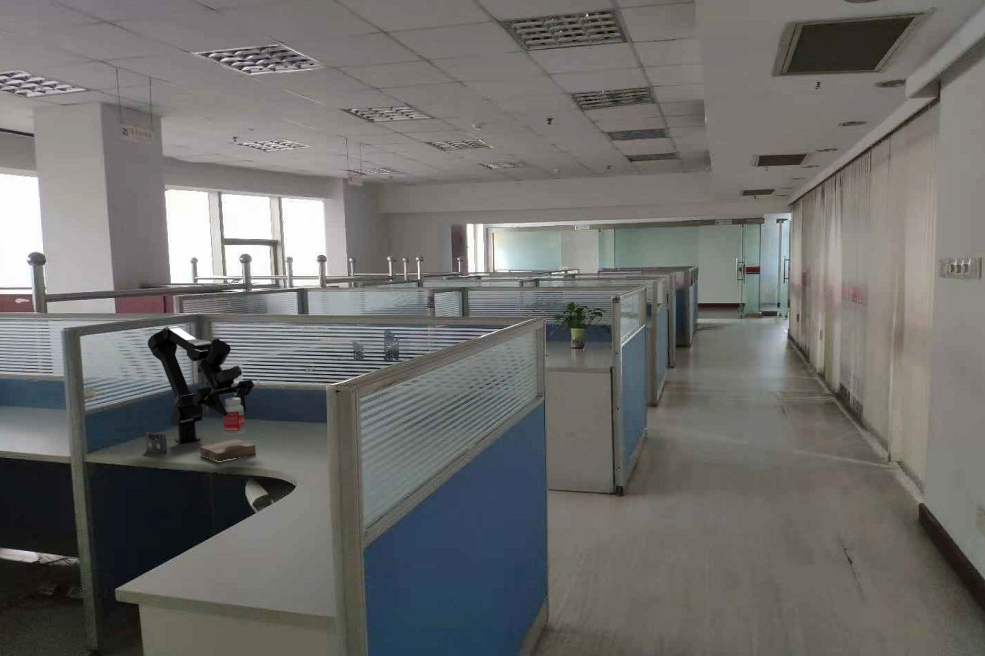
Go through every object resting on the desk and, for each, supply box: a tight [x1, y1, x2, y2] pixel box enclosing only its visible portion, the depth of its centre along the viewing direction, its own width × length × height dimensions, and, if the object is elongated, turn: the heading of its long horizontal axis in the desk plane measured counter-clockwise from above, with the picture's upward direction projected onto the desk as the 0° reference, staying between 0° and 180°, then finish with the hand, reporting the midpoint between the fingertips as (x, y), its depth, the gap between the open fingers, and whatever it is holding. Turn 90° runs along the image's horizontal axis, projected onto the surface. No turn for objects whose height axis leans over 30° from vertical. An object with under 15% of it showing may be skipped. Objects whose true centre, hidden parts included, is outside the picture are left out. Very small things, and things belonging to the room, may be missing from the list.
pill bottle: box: [222, 397, 245, 437], centre depth 227 cm, size 6×6×11 cm
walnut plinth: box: [199, 438, 257, 461], centre depth 227 cm, size 12×12×3 cm
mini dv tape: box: [144, 431, 168, 454], centre depth 233 cm, size 8×2×6 cm, turn 61°
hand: (235, 413), depth 226 cm, fingers closed on pill bottle, 6 cm apart
